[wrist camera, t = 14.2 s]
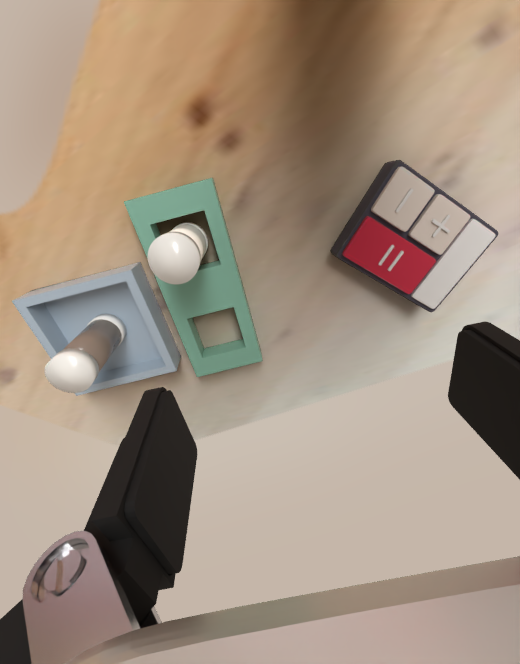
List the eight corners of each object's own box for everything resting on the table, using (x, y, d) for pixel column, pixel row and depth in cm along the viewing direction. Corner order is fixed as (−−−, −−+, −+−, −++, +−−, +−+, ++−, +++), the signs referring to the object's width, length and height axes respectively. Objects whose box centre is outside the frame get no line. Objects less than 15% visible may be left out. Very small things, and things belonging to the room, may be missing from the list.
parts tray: (31, 290, 34) (11, 301, 31) (140, 262, 34) (130, 270, 31) (88, 379, 41) (76, 395, 37) (181, 356, 40) (176, 370, 37)
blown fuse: (84, 318, 36) (35, 362, 27) (117, 309, 36) (78, 351, 27) (101, 347, 38) (60, 397, 29) (132, 339, 37) (100, 387, 29)
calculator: (401, 156, 28) (506, 233, 32) (383, 161, 32) (478, 229, 36) (336, 257, 32) (436, 316, 36) (327, 250, 36) (417, 304, 40)
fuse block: (131, 200, 31) (123, 201, 29) (213, 178, 31) (211, 177, 28) (199, 366, 41) (197, 377, 39) (261, 351, 41) (262, 361, 39)
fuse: (165, 226, 32) (140, 239, 23) (202, 218, 32) (191, 229, 23) (177, 263, 34) (157, 288, 25) (212, 255, 34) (204, 279, 25)
